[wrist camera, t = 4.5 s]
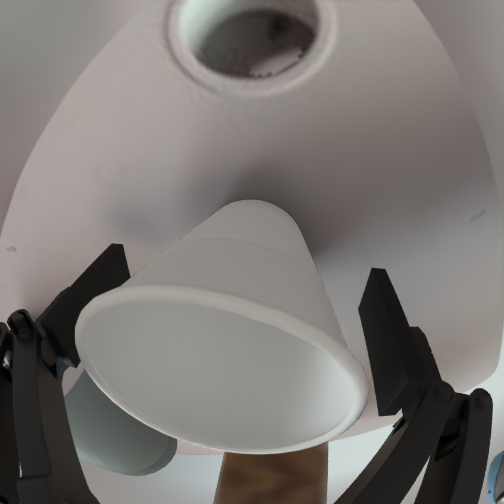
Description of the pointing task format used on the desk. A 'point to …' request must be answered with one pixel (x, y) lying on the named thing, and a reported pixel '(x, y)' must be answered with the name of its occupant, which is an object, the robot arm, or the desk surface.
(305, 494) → the plinth
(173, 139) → the desk surface
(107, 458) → the sage-green arched shell
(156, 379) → the cup
